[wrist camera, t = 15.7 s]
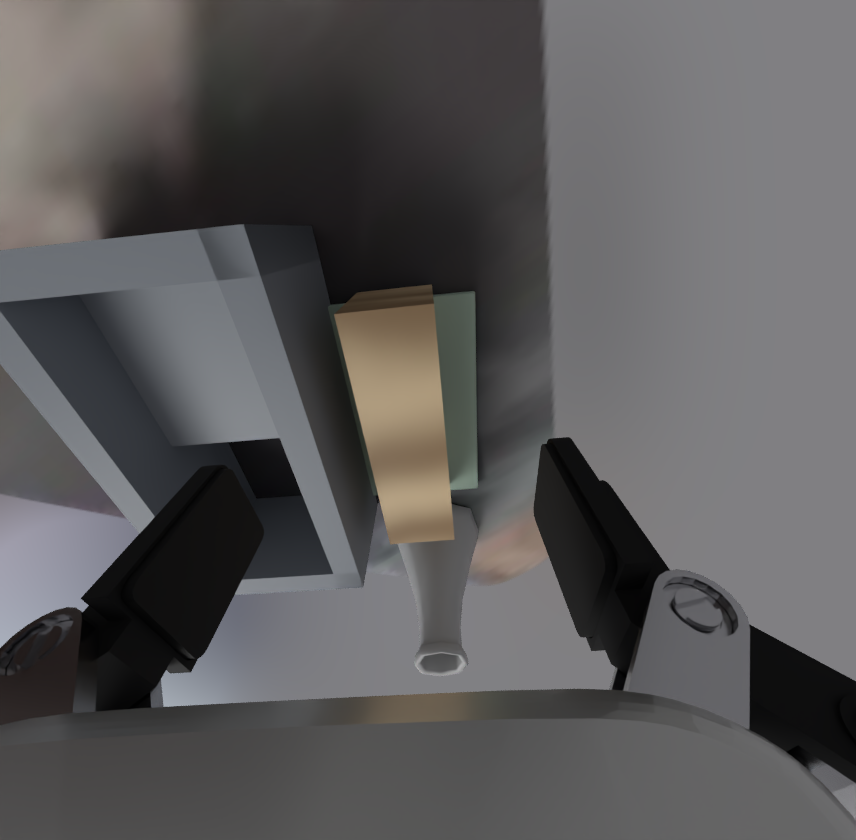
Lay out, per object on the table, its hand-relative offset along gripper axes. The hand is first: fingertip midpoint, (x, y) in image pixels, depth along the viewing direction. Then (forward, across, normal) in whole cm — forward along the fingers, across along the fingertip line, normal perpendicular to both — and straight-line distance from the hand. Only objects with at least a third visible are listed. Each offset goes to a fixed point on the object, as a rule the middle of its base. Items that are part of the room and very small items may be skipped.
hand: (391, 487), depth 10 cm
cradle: (+11, +9, +2) cm, 15 cm away
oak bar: (+11, 0, +3) cm, 11 cm away
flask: (+11, -1, +16) cm, 19 cm away
